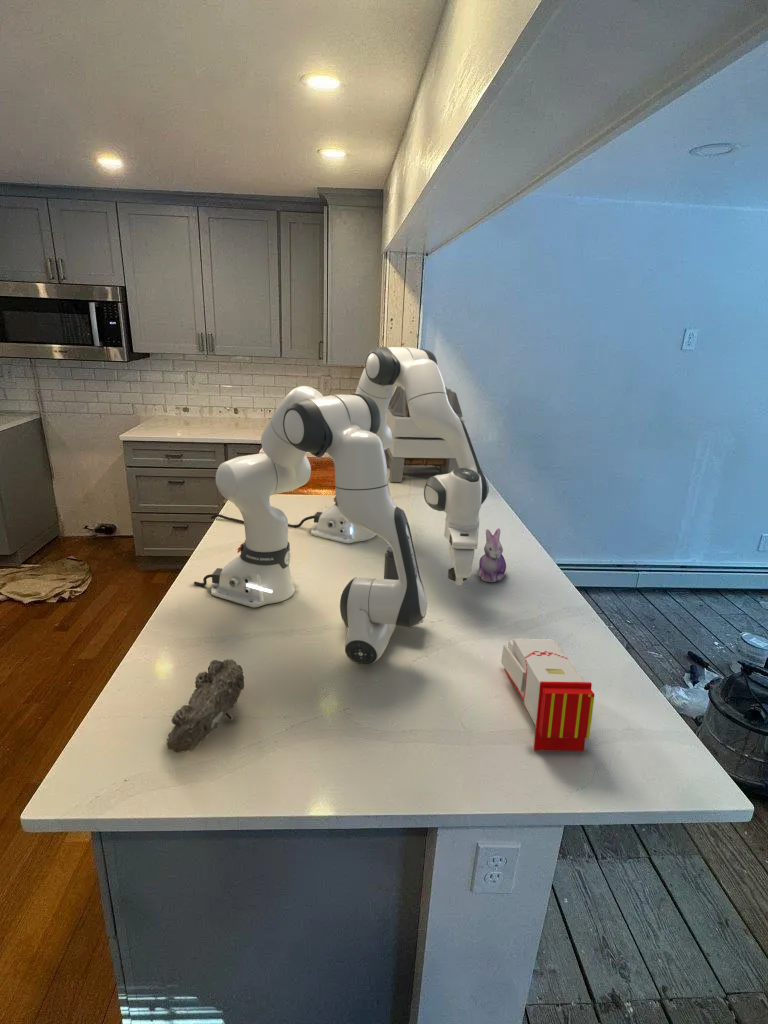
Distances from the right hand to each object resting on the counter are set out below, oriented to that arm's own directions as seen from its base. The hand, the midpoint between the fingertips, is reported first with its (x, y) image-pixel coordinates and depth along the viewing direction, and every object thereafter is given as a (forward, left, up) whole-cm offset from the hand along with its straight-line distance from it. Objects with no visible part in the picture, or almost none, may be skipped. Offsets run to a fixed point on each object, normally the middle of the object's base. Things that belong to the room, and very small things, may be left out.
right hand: (457, 578), depth 153 cm
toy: (+23, -37, -7) cm, 44 cm away
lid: (0, 0, +2) cm, 2 cm away
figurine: (+8, +19, -7) cm, 21 cm away
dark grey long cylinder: (-15, -12, -7) cm, 20 cm away
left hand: (-15, -11, -1) cm, 19 cm away
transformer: (-37, +121, -7) cm, 127 cm away
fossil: (-37, -62, -7) cm, 73 cm away
